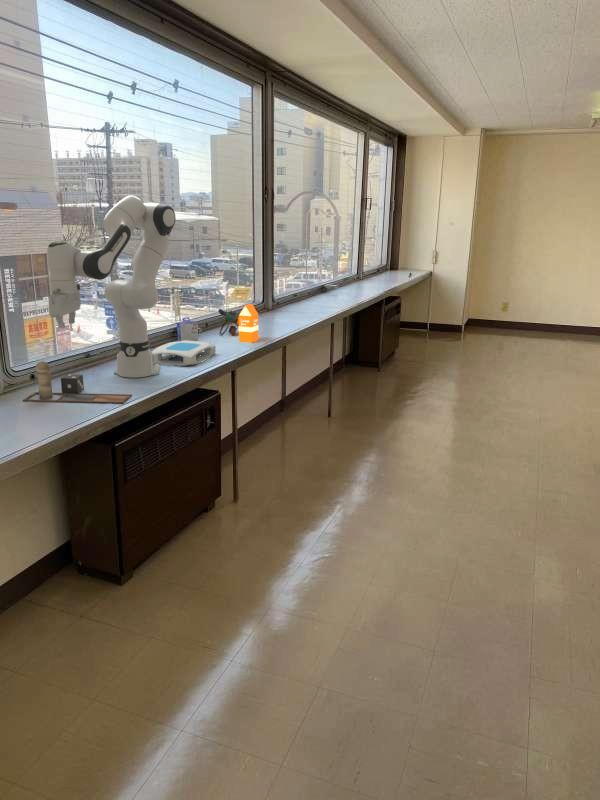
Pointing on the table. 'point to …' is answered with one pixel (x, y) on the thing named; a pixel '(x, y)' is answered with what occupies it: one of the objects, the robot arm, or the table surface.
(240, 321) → the orange juice
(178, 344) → the white step stool
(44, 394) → the pawn
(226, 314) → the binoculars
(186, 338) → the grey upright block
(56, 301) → the robot arm
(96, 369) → the table surface
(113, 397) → the board
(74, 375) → the die
